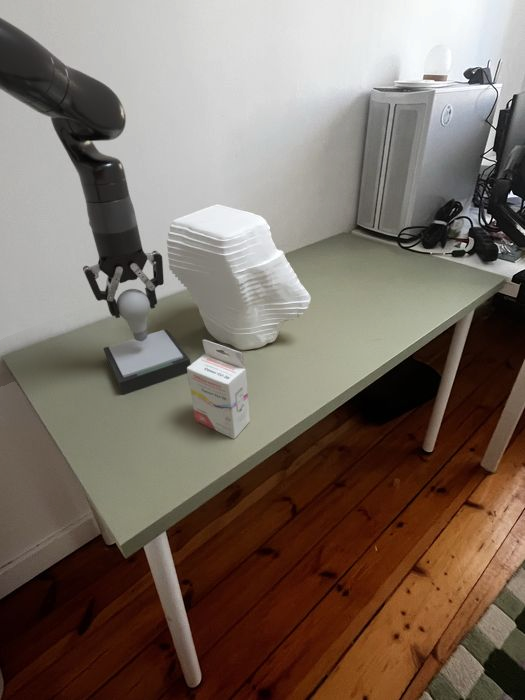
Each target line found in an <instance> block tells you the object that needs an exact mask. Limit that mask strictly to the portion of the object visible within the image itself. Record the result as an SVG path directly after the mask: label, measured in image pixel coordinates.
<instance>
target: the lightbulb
mask: <svg viewBox="0 0 525 700" xmlns="http://www.w3.org/2000/svg"><path fill="white" fill-rule="evenodd" d="M116 303H117V307H118V311H119V315H120V317H121V318H123V320H124V321H125V322H126V323H127V324H128V326H129V329H130V332H132V335H133V339H135V340H137V341H144V340H145V339H146V338H147V335H148V330H147V329H148V325H147V319H148V316H149V312H150V309H151V308H150V301H149V299H148V297H147V295H146V292H144V291H142V290H140V289H137V288H128V289H126V290H124V291H122V292H121V293H120V294H119V295H118V297H117V299H116Z"/></svg>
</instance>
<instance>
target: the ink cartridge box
mask: <svg viewBox="0 0 525 700" xmlns="http://www.w3.org/2000/svg"><path fill="white" fill-rule="evenodd" d="M202 346H203V349H204V353H203V355H201V356H200V357H199V358H197V359H196V360H195V361H194V362H192V363H191V365H190V366H189V367H187V372H188V373H187V376H188V383H189V389H190V395H191V401H192V406H193V413H194V417H195V422H197V423H199V424H201V425H204V426H205V427H207V428H210V429H212V430H213V431H216V432H218V433H220V434H223V435H224V436H227V437H229V438H231V439H234V440H235V439H236V438H237V437H238V436H239V435H240V434H241V433H242V432H243V430H244V429H245V428H246V427H247V426H248V424H250V421H251V420H250V419H251V417H250V407H249V395H248V394H249V393H248V384H247V370H246V367H245V361H244V355H243V353H242V352H241V351H239V350H235V349H233V348H230V347H227V346H225V345H221V344H219V343H216V342H213V341H211V340H208V339H202ZM219 351H223V352H224V353H225V354H223V353H221V352H219ZM226 354H228V355H226Z"/></svg>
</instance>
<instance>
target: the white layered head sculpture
mask: <svg viewBox="0 0 525 700" xmlns="http://www.w3.org/2000/svg"><path fill="white" fill-rule="evenodd" d="M272 234H273V233H272V232H271V226H270V225H269V224H268V222H267V220H266V219H265V218H264V217H263V216H261V215H260V214H255V213H253V212H250V211H246V210H243V209H238V208H234V207H230V206H227V205H222V204H218V203H216V204H213V205H210V206H207V207H205V208H202V209H200V210H196V211H194V212H191V213H189V214H186V215H182V216H181V217H178V218H175V219H174V220H172V224H170V225H169V232H168V233H167V235H168V239H166V244H167V247H166V248H167V257H168V259H167V260H168V262H169V263H168V264H169V265H168V268H169V271H171V273H172V274H173V275H174V276H175V278H177V280H178V281H179V282H180V284H182V285H183V287H185V288H186V290H187V291H188V294H189V297H190V298H191V299H192V301H193V302H194V303H195V304H196V306H197V308H198V311H199V312H198V313H199V314H200V317H201V318H202V321H203V324H204V326H205V327H206V331H207V332H208V333H209V334H210V335H211V336H212V337H213V338H214V339H215V340H217V341H218V342H220V343H224V344H228V345H231V346H232V347H234V348H235V349H237V350H242V351H247V350H252V349H259V348H262V347H264V346H266V345H267V344H270V343H273V342H275V341H276V339H277V338H278V335H279V334H280V332H281V331H282V330H281V329H282V328H283V326H284V324H285V322H288V321H294V320H295V319H297V318H300V317H301V316H303V315H304V313H306V312H307V310H308V309H309V307H310V305H311V299H312V297H311V295H310V293H309V292H308V291H307V288H305V286H304V285H303V284H302V283H301V280H300V279H299V278H298V275H297V274H296V272H295V271H294V268H292V266H291V263H290V262H289V261H288V260H287V258H286V255H285V252H284V251H283V250H281V249H277V247H276V244H275V241H274V240H273V238H272Z"/></svg>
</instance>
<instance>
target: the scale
mask: <svg viewBox="0 0 525 700" xmlns="http://www.w3.org/2000/svg"><path fill="white" fill-rule="evenodd" d="M102 350H103V351H104V356H105V359H106V361H107V363H108V366H109V368H110V370H111V373H112V374H113V376H114V379H115V381H116V383H117V385H118V387H119V389H120V392H121V394H122V396H124V395H127V394H130V393H134V392H136V391H138V390H141V389H144V388H147V387H151V386H153V385H156V384H159V383H161V382H165V381H167V380H170V379H173V378H176V377H179V376H182V375H184V374H188V372H187V367H189V366H190V365H191V364H192V363H191V358H190V357H189V356H188V355H187V353H186V351H184V349H183V348H182V347H181V346H180V344H179V342H178V341H177V339H176V338H175V337H174V336H173V335H172V333H171V332H170V330H169V329H168V328H165V329H162V330H159V331H155V332H151V333H149V334H148V333H147V338H146V339H145V340H144V341H137V340H135V338H132V339H129V340H125V341H121V342H118V343H115V344H111V345H108V346H105V347H103V349H102Z"/></svg>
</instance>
